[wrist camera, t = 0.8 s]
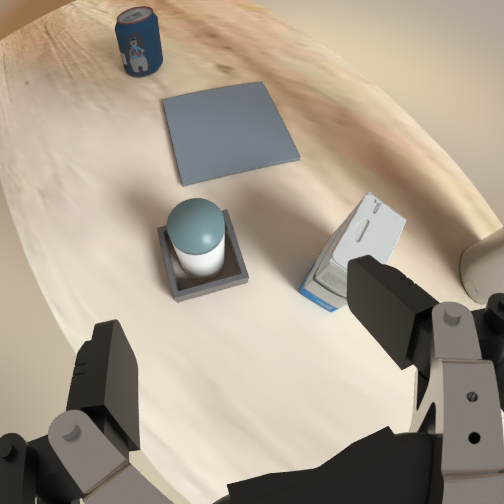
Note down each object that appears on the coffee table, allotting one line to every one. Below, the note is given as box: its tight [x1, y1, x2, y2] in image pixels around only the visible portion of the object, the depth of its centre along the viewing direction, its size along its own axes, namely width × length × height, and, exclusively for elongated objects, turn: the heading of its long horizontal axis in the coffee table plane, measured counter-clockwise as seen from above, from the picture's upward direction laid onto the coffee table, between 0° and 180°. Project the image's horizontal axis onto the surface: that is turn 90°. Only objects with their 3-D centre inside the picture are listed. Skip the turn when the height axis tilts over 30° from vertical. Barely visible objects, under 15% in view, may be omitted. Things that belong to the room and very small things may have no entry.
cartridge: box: [167, 198, 225, 280], centre depth 32 cm, size 5×5×10 cm
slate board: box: [163, 82, 300, 186], centre depth 43 cm, size 16×16×1 cm
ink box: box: [299, 191, 406, 312], centre depth 32 cm, size 8×5×12 cm, turn 146°
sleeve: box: [157, 210, 249, 302], centre depth 35 cm, size 8×8×2 cm
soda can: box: [115, 6, 163, 78], centre depth 41 cm, size 7×7×12 cm
